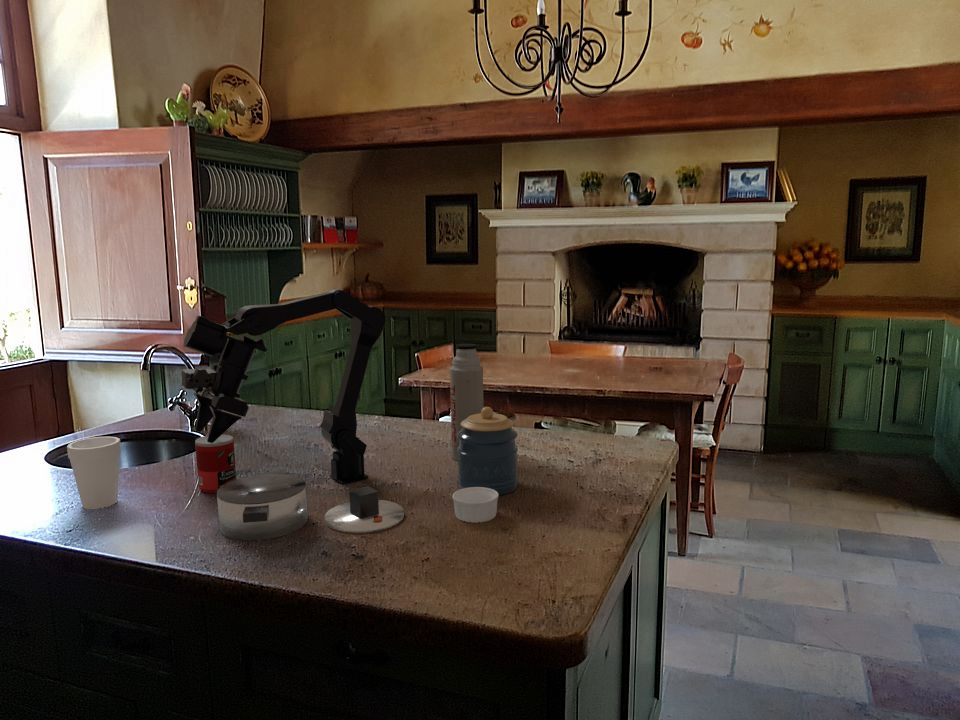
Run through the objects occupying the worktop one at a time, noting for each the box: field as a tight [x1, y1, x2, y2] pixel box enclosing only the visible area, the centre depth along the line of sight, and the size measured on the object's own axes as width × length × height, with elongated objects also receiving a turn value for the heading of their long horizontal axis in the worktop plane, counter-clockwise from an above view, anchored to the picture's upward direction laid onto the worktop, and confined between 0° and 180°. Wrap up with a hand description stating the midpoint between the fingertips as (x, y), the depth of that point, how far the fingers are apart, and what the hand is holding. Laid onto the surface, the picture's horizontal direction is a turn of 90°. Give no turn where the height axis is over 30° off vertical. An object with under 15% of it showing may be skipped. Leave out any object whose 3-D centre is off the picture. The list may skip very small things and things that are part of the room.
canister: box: [457, 406, 519, 496], centre depth 151 cm, size 13×13×18 cm
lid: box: [324, 485, 405, 534], centre depth 136 cm, size 15×15×6 cm
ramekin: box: [452, 487, 500, 524], centre depth 137 cm, size 9×9×4 cm
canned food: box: [194, 433, 237, 494], centre depth 154 cm, size 8×8×11 cm
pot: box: [216, 471, 309, 541], centre depth 134 cm, size 23×16×7 cm
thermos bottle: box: [449, 343, 485, 462], centre depth 172 cm, size 8×8×28 cm
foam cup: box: [66, 435, 122, 510], centre depth 145 cm, size 10×9×13 cm
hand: (203, 436), depth 143 cm, fingers open, 9 cm apart
